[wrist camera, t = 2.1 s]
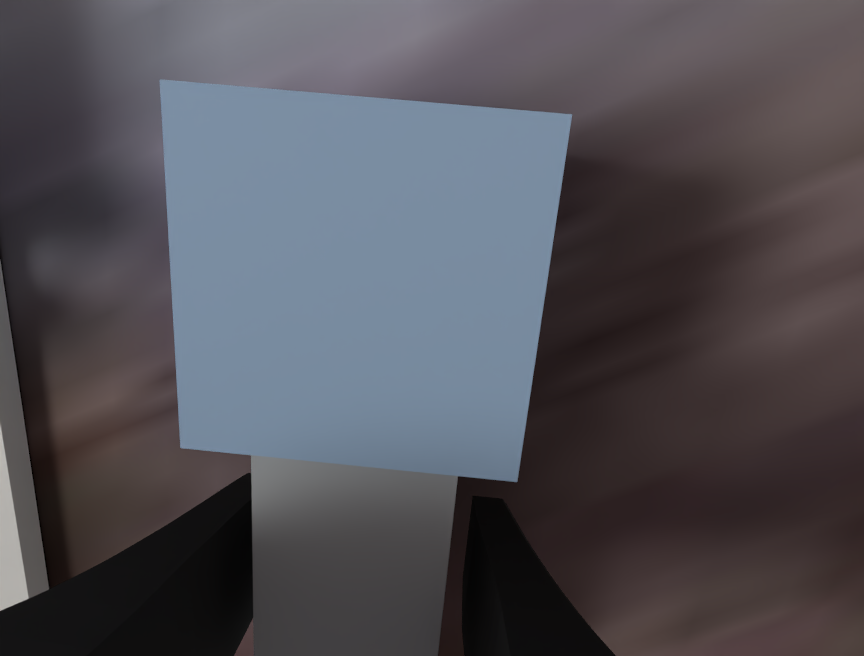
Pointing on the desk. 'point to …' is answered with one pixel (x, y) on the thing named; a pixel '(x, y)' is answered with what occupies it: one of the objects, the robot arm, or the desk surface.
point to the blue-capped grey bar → (356, 335)
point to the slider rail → (16, 485)
